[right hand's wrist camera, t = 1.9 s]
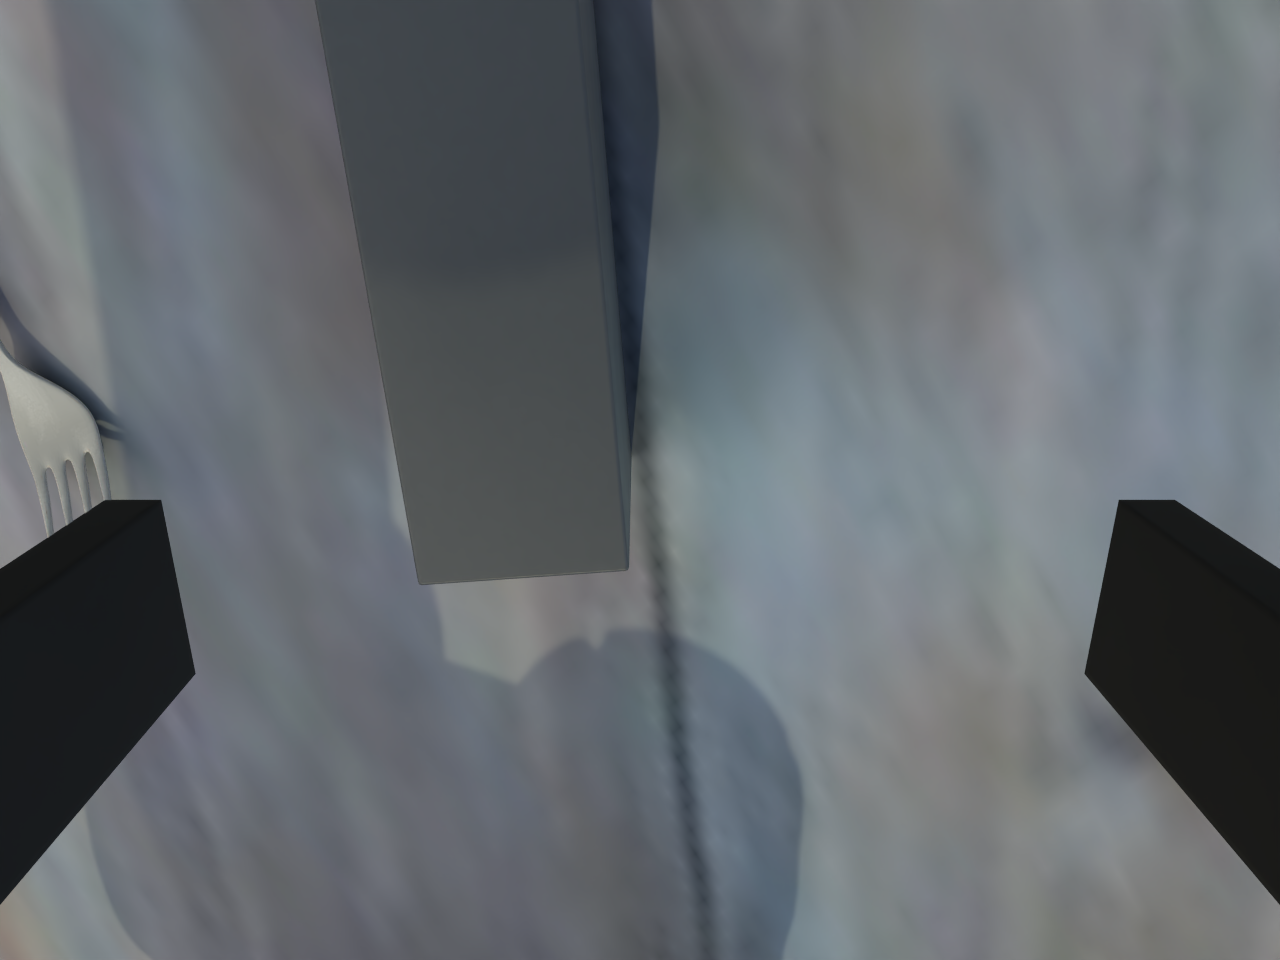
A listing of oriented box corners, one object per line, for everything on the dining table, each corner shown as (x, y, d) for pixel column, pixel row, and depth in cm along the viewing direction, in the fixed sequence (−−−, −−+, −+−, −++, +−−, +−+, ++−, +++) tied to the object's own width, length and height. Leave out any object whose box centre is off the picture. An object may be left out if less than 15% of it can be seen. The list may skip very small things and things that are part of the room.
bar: (631, 458, 29) (629, 572, 21) (477, 470, 29) (417, 586, 21) (547, -551, 21) (491, -984, 13) (331, -530, 21) (145, -944, 13)
